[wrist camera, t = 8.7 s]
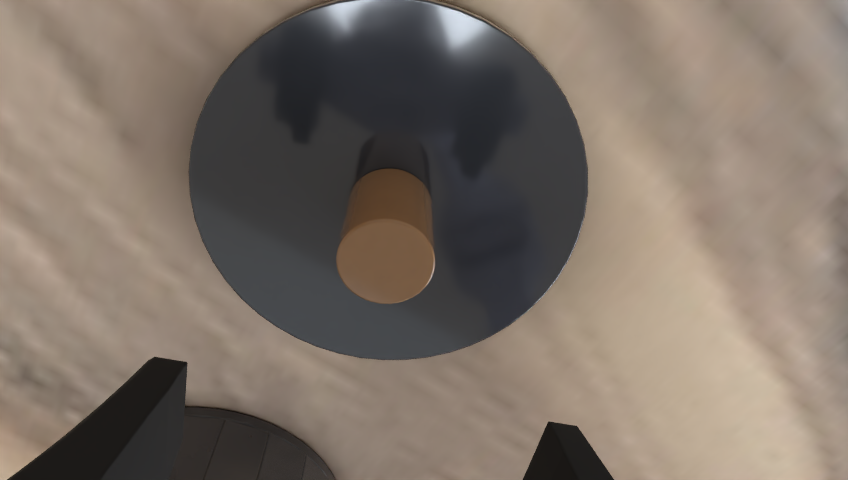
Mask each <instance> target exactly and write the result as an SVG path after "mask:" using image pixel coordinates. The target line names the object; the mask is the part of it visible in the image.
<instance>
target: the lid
mask: <svg viewBox="0 0 848 480" xmlns="http://www.w3.org/2000/svg"><path fill="white" fill-rule="evenodd" d="M189 186H190V198H191V203H192V208H193V212H194V217H195V221H196V224H197V227H198V230H199V232H200V235H201V238H202V241H203V243H204V245H205V247H206V249H207V251H208V253H209V255H210V257H211V259H212V261H213V263H214V264H215V266H216V267H217V268H218V270H219V271H220V273H221V274H222V276H223V277H224V279H225V280H226V282H227V283H228V284H229V285H230V286H231V287H232V288H233V290H234V291H235V292H236V293H237V294H238V295H239V296H240V298H241V299H242V300H244V301H245V302H246V303H247V304H248V305H249V306H250V307H251V308H252V309H254V310H255V311H256V312H257V313H258V314H259V315H261V316H262V317H264V318H265V319H266V320H268V321H269V322H271V323H272V324H273V325H275V326H276V327H278V328H280V329H281V330H283V331H285V332H287V333H289V334H290V335H292V336H294V337H296V338H298V339H300V340H302V341H305V342H307V343H309V344H312V345H314V346H316V347H319V348H323V349H326V350H329V351H332V352H336V353H339V354H344V355H349V356H354V357H359V358H368V359H378V360H408V359H417V358H426V357H431V356H436V355H441V354H445V353H450V352H453V351H456V350H459V349H462V348H465V347H468V346H471V345H473V344H475V343H477V342H480V341H482V340H484V339H486V338H488V337H490V336H492V335H494V334H496V333H497V332H499V331H501V330H502V329H504V328H506V327H507V326H509V325H510V324H512V323H513V322H514V321H516V320H517V319H518V318H520V317H521V316H522V315H523V314H525V313H526V312H527V311H528V310H529V309H531V308H532V307H533V306H534V305H535V304H536V303H537V302H538V301H539V300H540V299H541V298H542V297H543V296H544V295H545V293H546V292H547V291H548V290H549V288H550V287H551V286H552V285H553V283H554V282H555V281H556V280H557V278H558V277H559V275H560V273H561V272H562V270H563V268H564V267H565V265H566V263H567V262H568V260H569V258H570V256H571V254H572V251H573V249H574V247H575V245H576V242H577V240H578V238H579V234H580V231H581V227H582V224H583V220H584V217H585V210H586V203H587V196H588V166H587V160H586V153H585V147H584V142H583V139H582V136H581V132H580V129H579V126H578V123H577V120H576V118H575V116H574V113H573V111H572V109H571V107H570V105H569V103H568V101H567V99H566V97H565V95H564V94H563V92H562V91H561V89H560V88H559V86H558V85H557V83H556V82H555V80H554V79H553V77H552V76H551V74H550V73H549V72H548V70H547V69H546V68H545V67H544V66H543V65H542V64H541V63H540V62H539V60H538V59H537V58H536V57H535V56H534V55H533V54H532V53H531V52H530V51H529V50H528V49H527V48H526V47H525V46H523V45H522V44H521V43H520V42H519V41H517V40H516V39H515V38H514V37H513V36H511V35H510V34H509V33H507V32H506V31H504V30H503V29H501V28H499V27H498V26H496V25H495V24H493V23H491V22H490V21H488V20H486V19H485V18H483V17H480V16H478V15H476V14H474V13H471V12H469V11H467V10H465V9H462V8H460V7H458V6H454V5H451V4H447V3H444V2H440V1H437V0H334V1H330V2H327V3H323V4H320V5H316V6H313V7H310V8H308V9H306V10H304V11H302V12H299V13H297V14H295V15H293V16H291V17H288V18H286V19H285V20H283V21H281V22H280V23H278V24H277V25H275V26H274V27H272V28H271V29H269V30H267V31H266V32H264V33H263V34H261V35H260V36H259V37H258V38H257V39H256V40H255V41H254V42H252V43H251V44H250V45H249V46H248V47H247V48H246V49H244V50H243V51H242V52H241V53H240V54H239V55H238V56H237V57H236V58H235V59H234V61H233V62H232V63H231V64H230V65H229V67H228V68H227V69H226V70H225V71H224V73H223V74H222V75H221V76H220V78H219V79H218V81H217V83H216V84H215V86H214V88H213V89H212V91H211V93H210V94H209V96H208V98H207V99H206V102H205V104H204V107H203V109H202V111H201V114H200V116H199V119H198V121H197V124H196V128H195V132H194V136H193V140H192V145H191V152H190V163H189Z"/></svg>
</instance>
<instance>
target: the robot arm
mask: <svg viewBox="0 0 848 480" xmlns="http://www.w3.org/2000/svg"><path fill="white" fill-rule="evenodd" d="M186 377H187V362H183V361H176V360H170V359H164V358H158V357H154V358H152V359H150V360H148V361H147V362H146V363H145V364H144V365H143V366H142V367H141V368H140V369H139V370H138V371H137V372H136V373H135V374H134V375H133V376H132V377H131V378H130V379H129V380H128V381H127V382H126V383H124V384H123V385H122V386H121V387H120V388H119V389H118V390H117V391H116V392H115V393H114V394H112V395H111V396H110V397H109V398H108V399H107V400H106V401H105V402H104V403H102V404H101V405H100V406H99V407H98V408H97V409H96V410H94V411H93V412H92V413H91V414H90V415H89V416H87V417H86V418H85V419H84V420H83V421H81V422H80V423H79V424H78V425H77V426H76V427H74V428H73V429H72V430H71V431H70V432H68V433H67V434H66V435H65V436H64V437H62V438H61V439H60V440H59V441H57V442H56V443H55V444H54V445H52V446H51V447H50V448H48V449H47V450H46V451H44V452H43V453H42V454H41V455H39V456H38V457H37V458H35V459H34V460H33V461H32V462H30V463H29V464H28V465H26V466H25V467H24V468H22V469H21V470H20V471H19V472H17V473H16V474H14V475H13V476H12V477H10V478H9V479H7V480H168V479H169V477H170V474H171V471H172V468H173V465H174V463H175V460H176V457H177V454H178V451H179V448H180V445H181V442H182V440H183V426H184V410H185V393H186ZM523 480H614V479H613V478H612V476H611V475H610V473H609V472H608V470H607V469H606V467H605V466H604V465H603V463H602V462H601V460H600V459H599V457H598V456H597V454H596V453H595V451H594V450H593V448H592V447H591V446H590V444H589V443H588V441H587V440H586V438H585V437H584V435H583V434H582V433H581V431H580V430H579V428H578V427H577V426H573V425H567V424H561V423H554V422H548V424H547V426H546V428H545V431H544V433H543V435H542V437H541V440H540V442H539V444H538V446H537V449H536V451H535V453H534V455H533V458H532V460H531V462H530V465H529V467H528V469H527V471H526V474H525V476H524V478H523Z"/></svg>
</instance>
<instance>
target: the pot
mask: <svg viewBox="0 0 848 480" xmlns="http://www.w3.org/2000/svg"><path fill="white" fill-rule="evenodd" d="M168 480H335V478H334V476H333V474H332V473H331V471H330V470H329V468H328V467H327V465H326V464H325V463H324V461H323V460H322V459H321V458H320V457H319V456H318V455H317V454H316V453H315V452H314V451H313V450H312V449H311V448H309V447H308V446H307V445H306V444H304V443H303V442H302V441H301V440H299V439H298V438H296V437H294V436H293V435H291V434H290V433H288V432H286V431H284V430H282V429H280V428H278V427H276V426H275V425H273V424H270V423H268V422H265V421H262V420H260V419H257V418H255V417H251V416H248V415H244V414H240V413H237V412H232V411H226V410H221V409H213V408H202V407H185V410H184V426H183V440H182V442H181V445H180V448H179V451H178V454H177V457H176V460H175V463H174V465H173V468H172V471H171V474H170V477H169V479H168Z"/></svg>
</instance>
